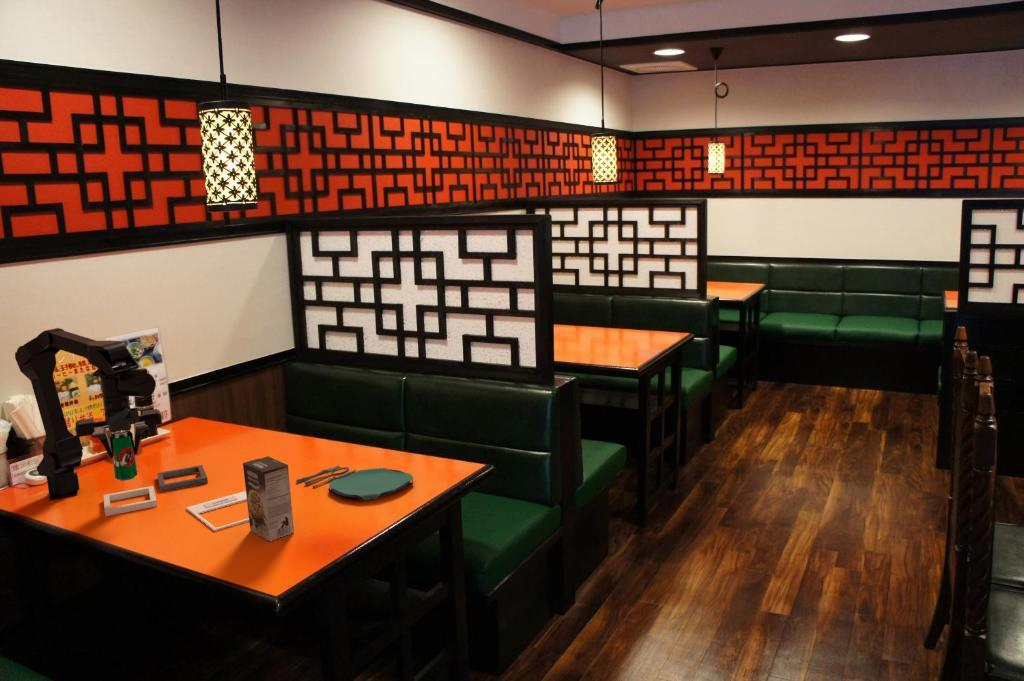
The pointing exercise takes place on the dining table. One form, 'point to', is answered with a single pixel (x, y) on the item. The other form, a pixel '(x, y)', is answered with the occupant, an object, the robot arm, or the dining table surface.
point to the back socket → (183, 483)
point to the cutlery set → (363, 482)
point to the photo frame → (218, 504)
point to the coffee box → (268, 498)
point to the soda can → (123, 455)
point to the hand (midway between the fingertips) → (123, 456)
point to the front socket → (132, 506)
